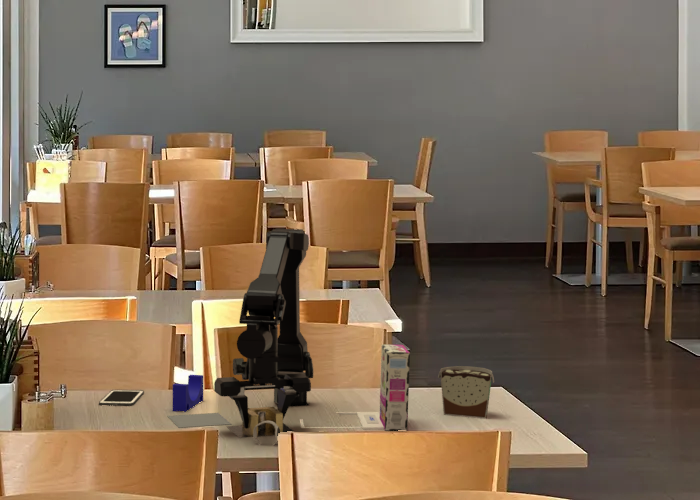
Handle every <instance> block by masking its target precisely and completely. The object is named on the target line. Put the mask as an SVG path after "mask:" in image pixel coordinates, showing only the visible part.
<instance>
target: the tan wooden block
mask: <svg viewBox="0 0 700 500" xmlns="http://www.w3.org/2000/svg"><path fill="white" fill-rule="evenodd" d="M277 409H278V408H275V406H265V407H264V406H263V407H248V428H247V429H246V428H244V425H243V422H242V424H241V425H242V428H243V429H244V430H245V431H247V432H248V433H249V434H250V435H253V430H254V428H255V426H256V425H257V424H258V412H259V411H265V412H266V421H273V422H275V423H276V424H277V426H278V427H279V429H280V432H283V423H284V421H283V420H284V419H283V413H281V412H280V411H279V410H277ZM266 428H269V429H271V430H272V431H273V432H274V433H275V427H274V426H273V425H272V424H270V423H266ZM256 431H257V435H258V426H257V428H256Z"/></svg>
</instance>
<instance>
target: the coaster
mask: <svg viewBox="0 0 700 500" xmlns="http://www.w3.org/2000/svg"><path fill="white" fill-rule="evenodd" d="M167 418H168V419H169V420H170V421H171V422H172V423H173V424H174V425H175V426H176V427H177V428H178V429H186V428H200V427H202V428H203V427H214V426H215V427H217V426H233V425H232V424H233V423H231V422H230V421H229V420H227V418H226V417H224V416H223V415H222V414H221V413H219V412H209V413H208V412H207V413H193V414H191V413H190V414H174V415H167Z"/></svg>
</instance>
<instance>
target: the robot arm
mask: <svg viewBox="0 0 700 500" xmlns="http://www.w3.org/2000/svg"><path fill="white" fill-rule="evenodd" d="M265 236H266V238H265V253H264V256H263V260H262V263H261V265H260V266H261V267H260V271H259V274H258V277H257V278H255V279H253V280H251V282H249V285H248V288H247V290H246V292H245V293H244V295H243V297H242V298H243V299H242V304H241V309H240V314H239V315H240V316H239V320H238V321H239V325H240V324H243V325H246V329H245V330H243V331H242V332H241V333H240V334H239V336H238V338H237V340H236V348H237V350H238V352H239V354H240V355H241V356H242V357H244V358H246V361H245V360H244V358H241V357H240V358H238V357H237V358H233V359H232V372H233V376H230V377H229V376H227V377H217V378H216V379H215V381H214V385H213V387H214V389H213V391H214V392H215V393H216V394H218V395H219V396H220V397H228V398H230V399H231V400H232V401H234V402H235V405H236V407H237V409H238V412H239V415H240V418H241V420H242V422H243V425H244V428H246V429H247V428H248V408H249V403H248V402H249V401H248V399H249V397H248V396H247V395H246V394H245V391H252V390H253V391H254V390H255V391H256V390H257V391H258V390H272V389H273V402H274V403H275V404H277V408H276V409H277V410H279V411H280V412H281V413H283V420H284V418H285V416H286V414H287V412H288V409H289V407H291V408H292V407H303V406H304V407H305V406H306V407H307V406H310V402H308V392H311V391H312V382H311V379H314V364H313V359H312V357H311V353H310V351H308V342H307V340H306V338H305V337H304V336H303V334H302V333H301V326H300V325H301V323H300V321H301V319H300V317H301V316H300V315H301V313H300V312H301V311H300V310H301V309H300V267H301V265H302V263H304V262H303V261H304V260H305V258H306V256H307V251H308V250H309V246H310V245H309V244H310V237H309V234H307V233H306V232H304V229H299V228H275V229H273V230H271V231H268V232H266V235H265ZM278 326H279V328H278ZM278 329H279V330H278ZM278 332H279V334H278ZM235 375H236V376H238V375H239V376H240V375H241V377H242V378H241V380H239V379H238V378H236V377H234V376H235Z"/></svg>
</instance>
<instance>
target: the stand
mask: <svg viewBox="0 0 700 500" xmlns="http://www.w3.org/2000/svg"><path fill="white" fill-rule="evenodd" d="M263 421H266V412H265V411H259V412H258V424H259V423H261V422H263ZM225 426H226V428H227V429H229V430H230V432H232V433H233V434H234V435H235V436H237V437H238V439H245V438H254V437H253V435H250V434H249V433H248V432H247V431H245V430H244V429H243V428H242V424H241V425H225ZM287 431H294V429H292V428H290V427H289V426H288V425H286V424H285V423H284V422H283V432H287ZM273 436H274V437H275V433H274V432H273V431H272V430H271V429H269V428H266V423H263V424H261V425H258V435H257V438H258V437H260V438H261V437H273Z"/></svg>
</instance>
